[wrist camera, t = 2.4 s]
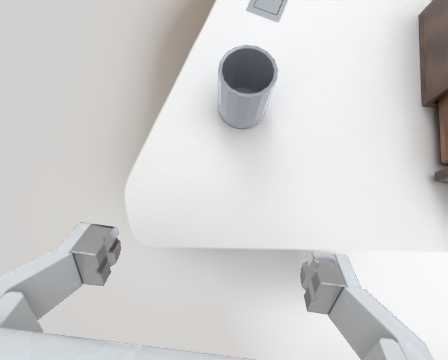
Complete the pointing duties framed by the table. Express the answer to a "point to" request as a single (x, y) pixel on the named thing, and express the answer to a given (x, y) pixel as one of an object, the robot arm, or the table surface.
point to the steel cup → (245, 85)
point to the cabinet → (434, 52)
